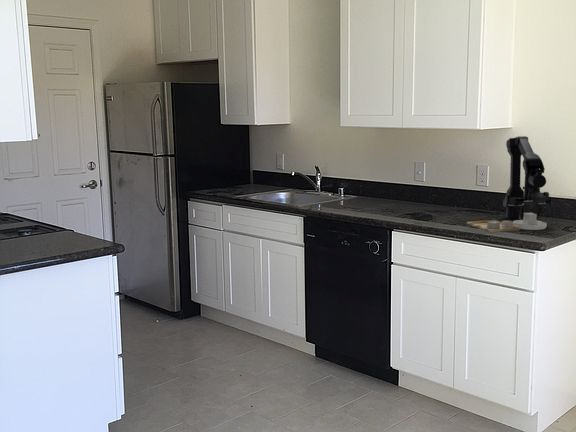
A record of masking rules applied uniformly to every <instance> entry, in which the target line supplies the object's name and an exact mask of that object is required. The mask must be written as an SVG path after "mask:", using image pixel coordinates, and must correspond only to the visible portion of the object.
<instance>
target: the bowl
mask: <svg viewBox="0 0 576 432" xmlns="http://www.w3.org/2000/svg"><path fill="white" fill-rule="evenodd" d="M512 222H513V226H515V227H518V228H520V230H525V231H526V230H528V231H529V230H530V231H534V230H535V231H538V230H545V229H546V228H547V225H548V224H547V222H544V221H541V220H536V225H523V224H522V223H523V220H513V221H512Z"/></svg>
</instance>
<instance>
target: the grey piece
mask: <svg viewBox="0 0 576 432" xmlns="http://www.w3.org/2000/svg"><path fill="white" fill-rule="evenodd" d="M490 221H491V222H487V228H488V229H500V222H501V221H499V222H494V221H492V220H490Z"/></svg>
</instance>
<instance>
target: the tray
mask: <svg viewBox="0 0 576 432" xmlns="http://www.w3.org/2000/svg"><path fill="white" fill-rule="evenodd" d="M491 221H494V222H500V229H488V228H487V222H491ZM466 225H468V226H471V227H475V228H476V229H480V230H481V231H482V230H483V231H486V232H489V233H495V232H496V233H498V232H500V233H501V232H515V231H516V232H518V231H521V229H520V228H518V227H515V226H513V228H506V229H502V221H498V220H476V221H466Z"/></svg>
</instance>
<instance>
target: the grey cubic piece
mask: <svg viewBox="0 0 576 432" xmlns="http://www.w3.org/2000/svg"><path fill="white" fill-rule="evenodd" d="M501 222H502V229H506V228H513V221H512V220H502V221H501Z"/></svg>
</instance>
